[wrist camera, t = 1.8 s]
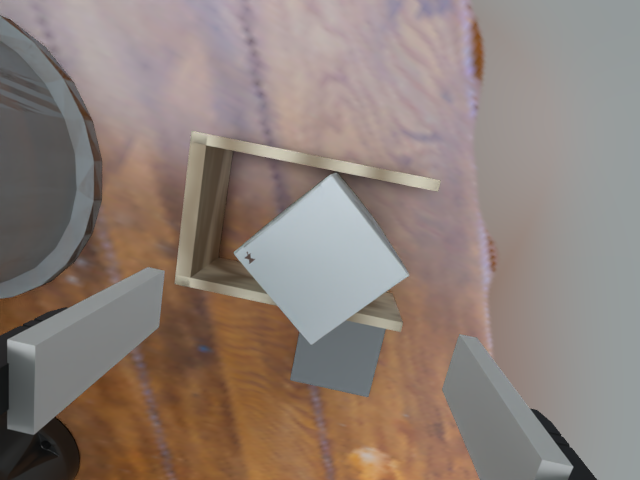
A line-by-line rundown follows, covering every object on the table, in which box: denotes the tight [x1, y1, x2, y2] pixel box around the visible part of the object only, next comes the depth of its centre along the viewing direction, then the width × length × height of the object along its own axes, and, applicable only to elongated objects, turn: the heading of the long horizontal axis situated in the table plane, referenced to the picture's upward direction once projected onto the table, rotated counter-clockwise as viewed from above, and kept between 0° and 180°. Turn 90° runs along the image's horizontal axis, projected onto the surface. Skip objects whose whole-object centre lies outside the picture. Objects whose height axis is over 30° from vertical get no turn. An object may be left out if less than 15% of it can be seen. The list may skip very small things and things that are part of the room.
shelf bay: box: [175, 131, 441, 332], centre depth 37 cm, size 23×15×8 cm, turn 79°
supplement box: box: [234, 172, 409, 345], centre depth 33 cm, size 10×9×17 cm
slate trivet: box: [290, 320, 386, 397], centre depth 44 cm, size 10×10×1 cm
